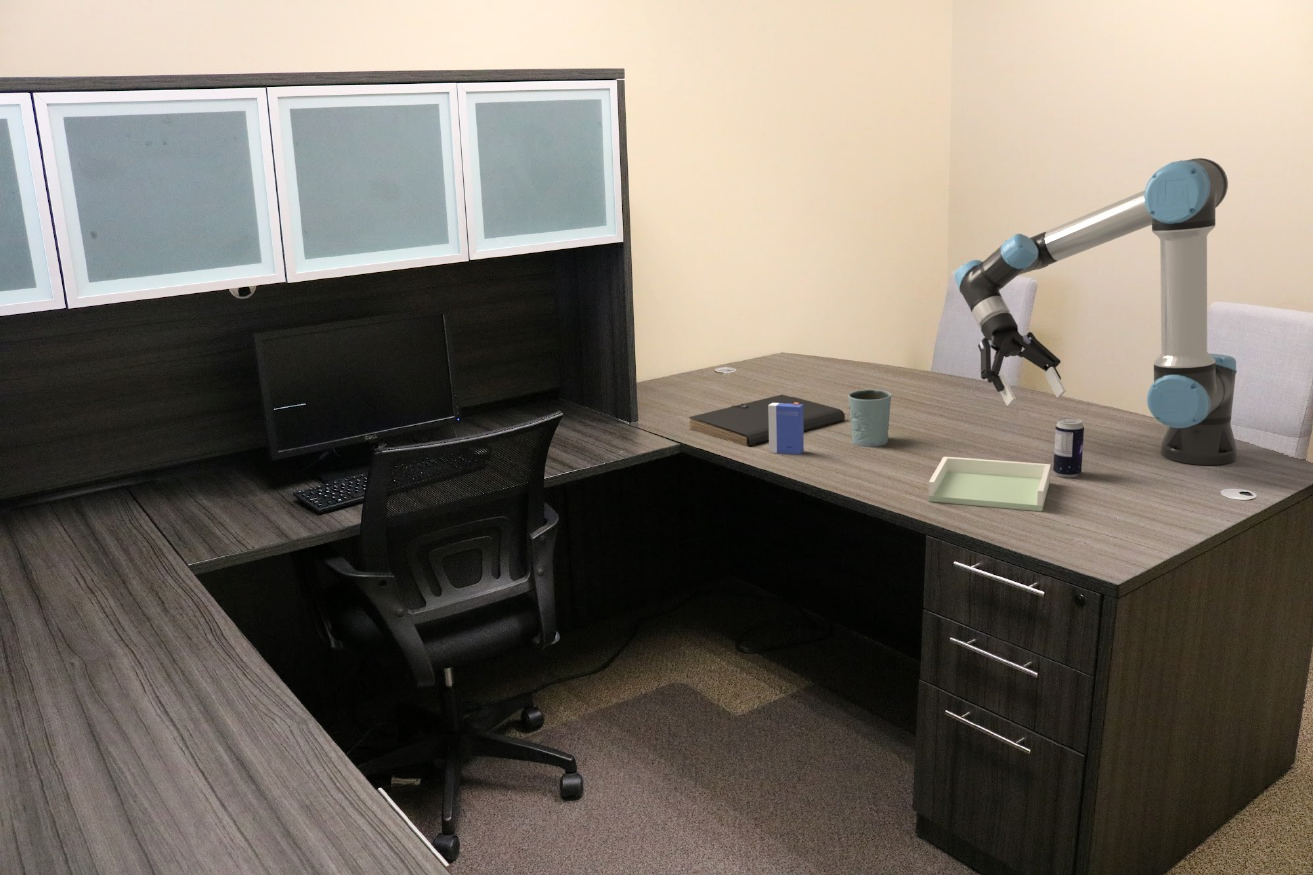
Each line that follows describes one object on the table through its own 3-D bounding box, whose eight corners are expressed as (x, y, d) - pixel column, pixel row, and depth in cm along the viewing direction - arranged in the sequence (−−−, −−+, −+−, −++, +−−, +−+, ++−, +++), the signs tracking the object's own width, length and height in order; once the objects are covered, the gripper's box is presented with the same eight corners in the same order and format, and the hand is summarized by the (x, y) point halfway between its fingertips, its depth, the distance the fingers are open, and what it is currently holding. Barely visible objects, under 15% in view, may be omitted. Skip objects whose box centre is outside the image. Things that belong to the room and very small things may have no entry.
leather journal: (781, 392, 302) (845, 409, 283) (781, 407, 303) (844, 424, 284) (688, 415, 283) (749, 434, 264) (688, 430, 284) (749, 450, 266)
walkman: (803, 451, 260) (803, 402, 256) (800, 454, 257) (799, 405, 254) (772, 449, 263) (771, 401, 260) (768, 452, 260) (767, 403, 257)
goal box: (1049, 483, 229) (1050, 464, 228) (1042, 511, 213) (1043, 491, 212) (943, 474, 238) (943, 456, 237) (928, 501, 222) (928, 481, 221)
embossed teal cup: (892, 437, 268) (892, 389, 265) (889, 448, 259) (889, 399, 255) (850, 435, 271) (850, 388, 267) (846, 447, 261) (846, 398, 258)
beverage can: (1083, 478, 231) (1086, 424, 228) (1055, 478, 232) (1058, 424, 229) (1078, 470, 236) (1082, 417, 233) (1051, 470, 237) (1054, 417, 234)
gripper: (1031, 324, 256) (1072, 400, 247) (942, 336, 248) (981, 414, 238) (1048, 305, 250) (1091, 381, 241) (957, 316, 242) (998, 396, 232)
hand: (1036, 398), depth 240 cm, fingers open, 13 cm apart
